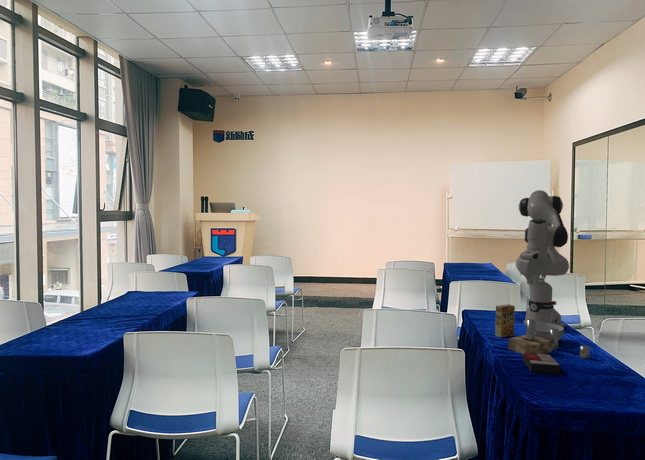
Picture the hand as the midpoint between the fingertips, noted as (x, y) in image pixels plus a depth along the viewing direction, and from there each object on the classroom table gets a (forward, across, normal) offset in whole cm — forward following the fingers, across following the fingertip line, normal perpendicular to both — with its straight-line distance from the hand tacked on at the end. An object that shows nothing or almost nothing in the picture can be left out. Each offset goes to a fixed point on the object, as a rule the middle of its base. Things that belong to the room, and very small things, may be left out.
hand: (535, 283), depth 218 cm
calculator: (+30, +25, +20) cm, 44 cm away
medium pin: (+29, -2, +9) cm, 30 cm away
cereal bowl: (+29, -10, -1) cm, 31 cm away
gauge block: (+29, +10, +5) cm, 31 cm away
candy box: (+29, 0, -16) cm, 33 cm away
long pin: (+29, +10, +5) cm, 31 cm away
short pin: (+29, -2, +23) cm, 37 cm away
